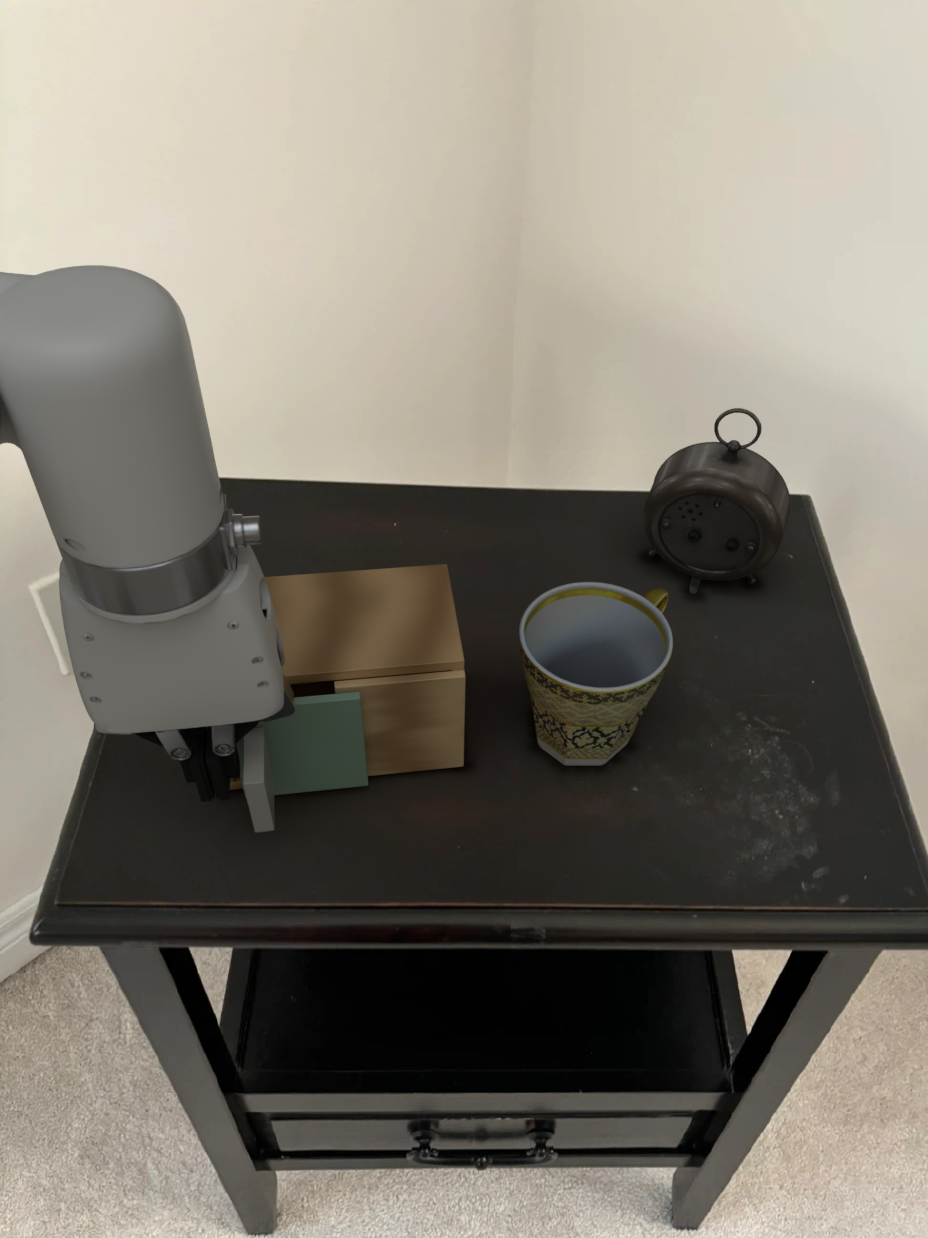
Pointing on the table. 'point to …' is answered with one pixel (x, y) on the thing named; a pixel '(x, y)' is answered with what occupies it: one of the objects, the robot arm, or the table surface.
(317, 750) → the sliding door
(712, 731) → the table surface
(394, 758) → the cabinet
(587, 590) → the ceramic cup
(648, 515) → the alarm clock
